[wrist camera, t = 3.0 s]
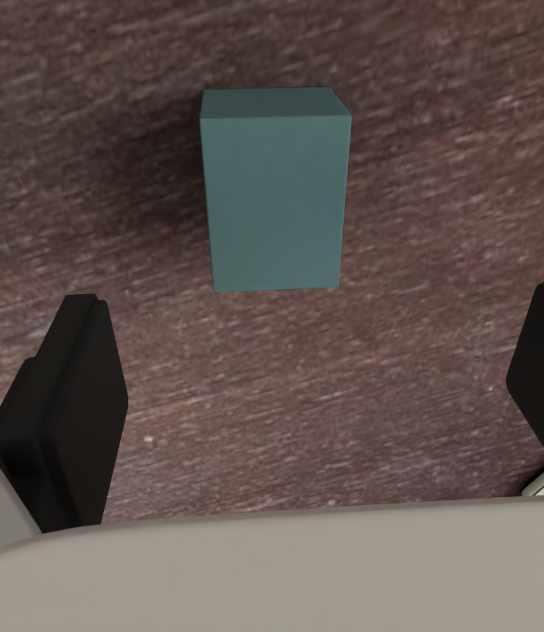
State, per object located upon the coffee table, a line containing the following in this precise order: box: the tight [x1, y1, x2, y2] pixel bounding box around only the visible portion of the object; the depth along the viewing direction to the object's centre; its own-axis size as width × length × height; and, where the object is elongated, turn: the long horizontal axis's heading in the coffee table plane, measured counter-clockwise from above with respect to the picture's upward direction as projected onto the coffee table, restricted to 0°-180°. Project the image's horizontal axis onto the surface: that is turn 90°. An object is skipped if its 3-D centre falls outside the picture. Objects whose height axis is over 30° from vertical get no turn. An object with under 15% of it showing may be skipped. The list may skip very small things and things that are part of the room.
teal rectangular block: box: [199, 87, 352, 293], centre depth 19 cm, size 6×4×4 cm
